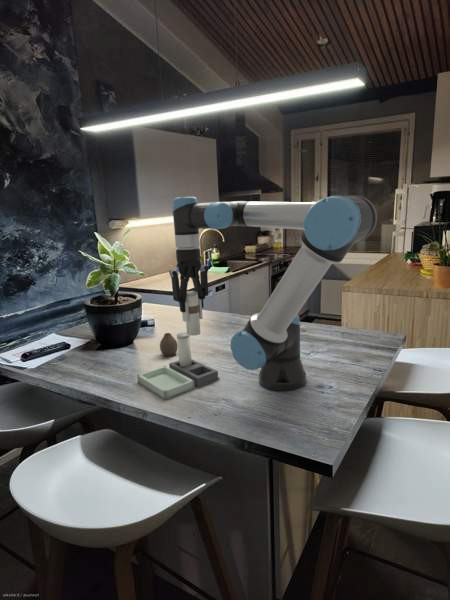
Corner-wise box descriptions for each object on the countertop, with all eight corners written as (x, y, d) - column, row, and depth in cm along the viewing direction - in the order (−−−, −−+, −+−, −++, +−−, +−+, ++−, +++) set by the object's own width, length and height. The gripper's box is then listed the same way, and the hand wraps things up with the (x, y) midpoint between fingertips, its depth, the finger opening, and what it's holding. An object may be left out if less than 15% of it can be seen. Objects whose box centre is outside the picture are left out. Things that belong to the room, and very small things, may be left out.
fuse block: (219, 378, 136) (219, 370, 136) (198, 386, 131) (198, 378, 130) (190, 364, 150) (189, 357, 149) (169, 371, 145) (169, 363, 144)
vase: (157, 356, 160) (155, 335, 158) (167, 350, 166) (165, 330, 164) (171, 358, 157) (169, 337, 155) (181, 352, 163) (179, 332, 161)
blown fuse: (203, 333, 133) (200, 292, 130) (191, 336, 130) (188, 294, 127) (195, 330, 136) (193, 290, 133) (184, 333, 134) (181, 292, 131)
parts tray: (194, 388, 130) (194, 380, 130) (165, 399, 124) (164, 391, 123) (166, 372, 144) (165, 365, 144) (138, 382, 138) (137, 374, 137)
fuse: (194, 371, 144) (191, 334, 140) (184, 375, 141) (181, 337, 138) (187, 368, 147) (184, 331, 144) (177, 371, 144) (174, 334, 141)
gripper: (204, 244, 135) (208, 312, 140) (157, 250, 125) (163, 323, 130) (217, 245, 129) (221, 316, 134) (169, 251, 119) (175, 328, 124)
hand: (192, 319), depth 132 cm, fingers closed on blown fuse, 4 cm apart
